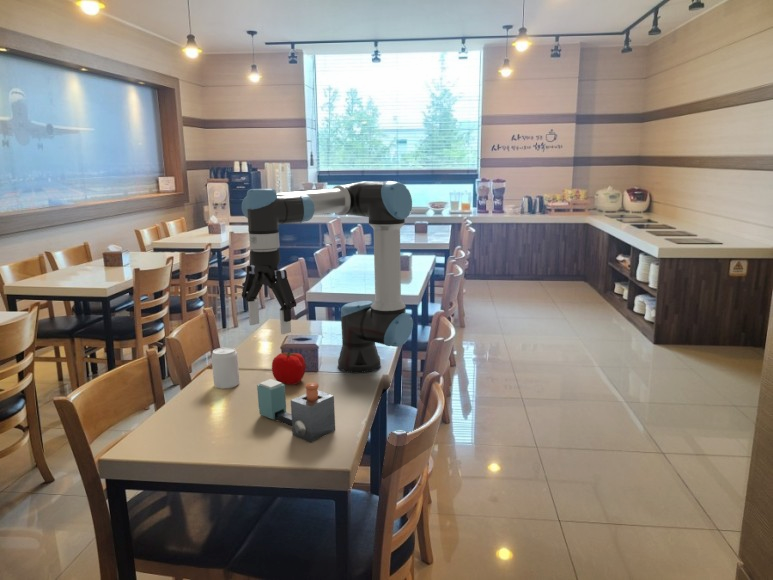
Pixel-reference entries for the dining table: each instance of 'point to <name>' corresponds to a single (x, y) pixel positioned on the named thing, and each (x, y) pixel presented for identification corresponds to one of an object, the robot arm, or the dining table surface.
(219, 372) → the beverage can
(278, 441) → the dining table surface
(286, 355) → the tomato
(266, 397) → the block
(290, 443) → the dining table surface
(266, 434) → the dining table surface
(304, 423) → the grey box
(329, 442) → the dining table surface
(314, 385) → the plunger
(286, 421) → the rail
